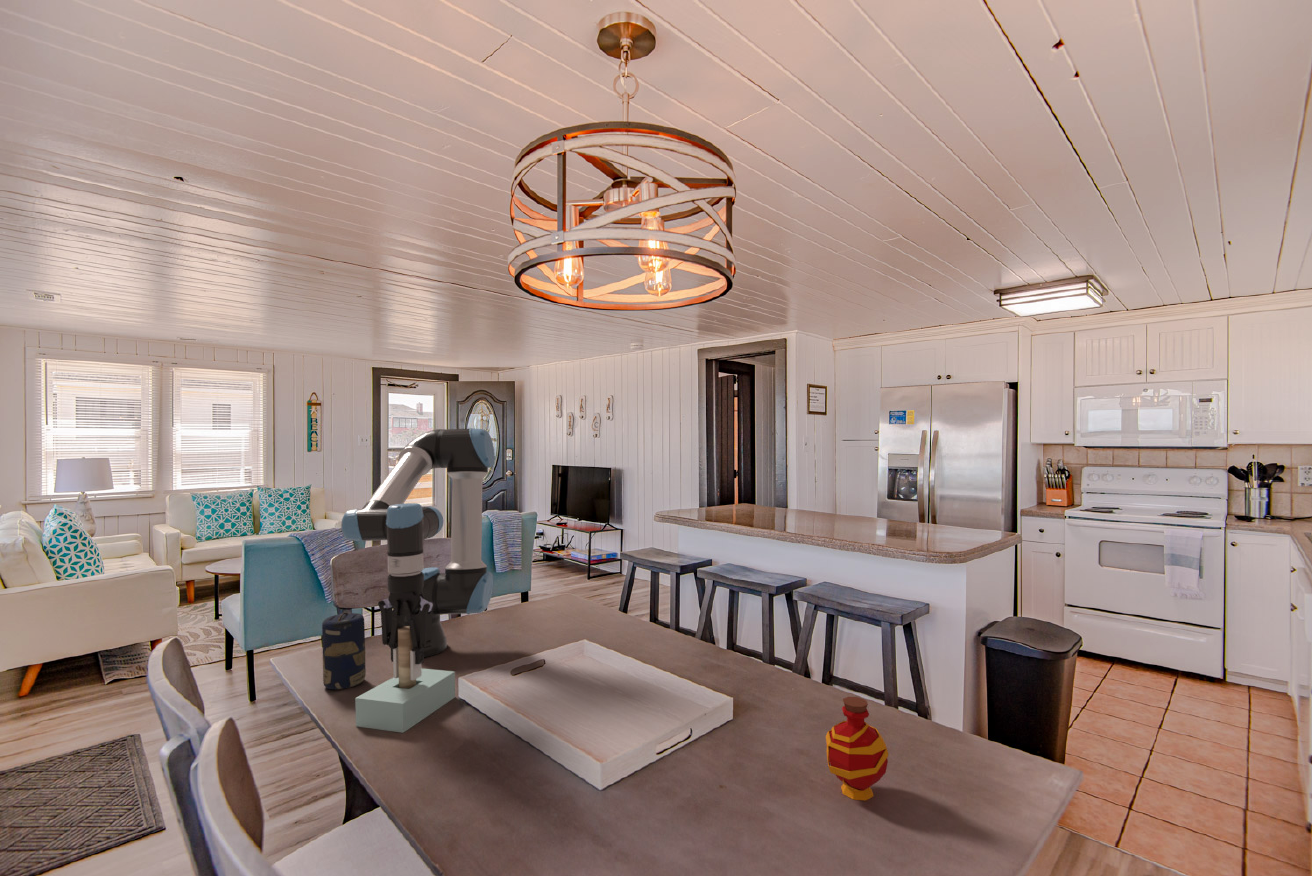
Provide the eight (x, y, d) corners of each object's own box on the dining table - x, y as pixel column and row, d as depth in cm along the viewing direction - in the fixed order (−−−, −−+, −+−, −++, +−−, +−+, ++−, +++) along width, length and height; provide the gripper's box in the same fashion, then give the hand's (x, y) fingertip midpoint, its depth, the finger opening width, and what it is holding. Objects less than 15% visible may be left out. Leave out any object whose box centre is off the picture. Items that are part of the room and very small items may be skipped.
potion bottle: (883, 817, 94) (880, 720, 94) (817, 797, 99) (815, 706, 100) (896, 784, 103) (894, 696, 103) (835, 768, 108) (833, 684, 108)
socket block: (412, 692, 146) (411, 667, 146) (455, 697, 142) (454, 671, 142) (355, 726, 128) (355, 698, 128) (403, 732, 125) (402, 703, 125)
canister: (373, 677, 156) (372, 607, 156) (351, 692, 146) (350, 618, 146) (338, 677, 156) (337, 607, 157) (314, 692, 147) (313, 618, 147)
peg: (406, 695, 138) (405, 625, 138) (419, 697, 137) (418, 626, 137) (395, 702, 134) (394, 630, 134) (409, 704, 133) (407, 631, 133)
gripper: (362, 574, 134) (364, 680, 134) (427, 578, 130) (428, 687, 129) (386, 568, 142) (387, 667, 141) (448, 570, 137) (450, 674, 137)
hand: (407, 676), depth 135 cm, fingers open, 4 cm apart
